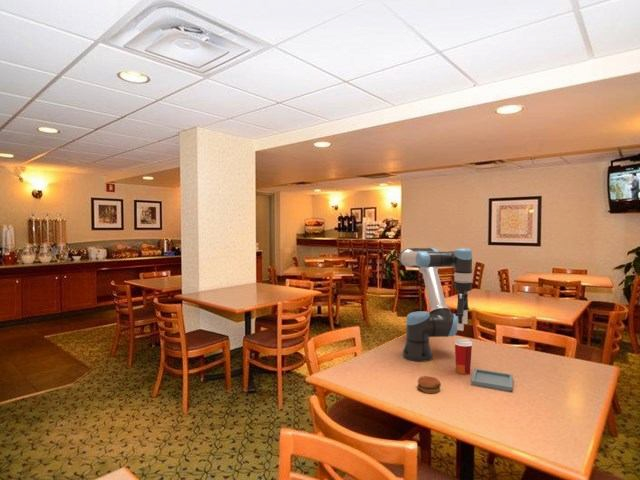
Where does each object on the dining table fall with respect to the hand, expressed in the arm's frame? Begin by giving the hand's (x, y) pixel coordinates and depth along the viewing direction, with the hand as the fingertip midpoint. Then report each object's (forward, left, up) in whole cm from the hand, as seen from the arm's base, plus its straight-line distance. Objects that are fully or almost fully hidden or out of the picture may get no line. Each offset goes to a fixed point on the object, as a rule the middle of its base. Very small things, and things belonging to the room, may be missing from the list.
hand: (462, 326), depth 178 cm
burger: (+25, -10, -22) cm, 35 cm away
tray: (+5, +13, -22) cm, 26 cm away
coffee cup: (-1, 0, -22) cm, 22 cm away
